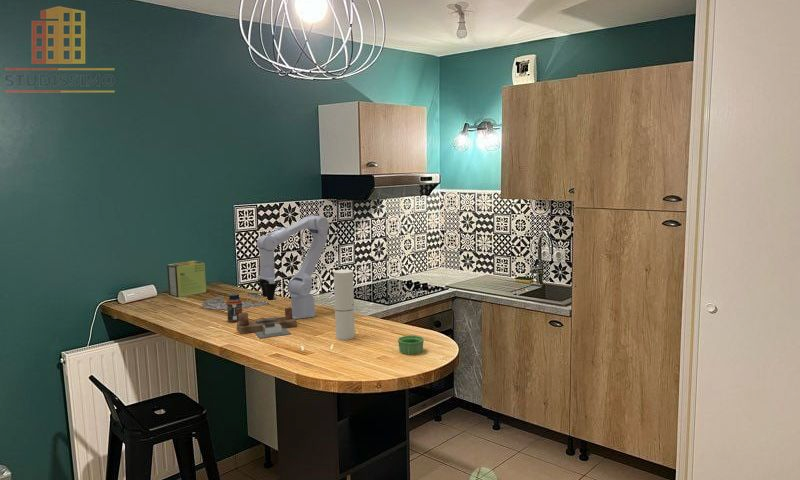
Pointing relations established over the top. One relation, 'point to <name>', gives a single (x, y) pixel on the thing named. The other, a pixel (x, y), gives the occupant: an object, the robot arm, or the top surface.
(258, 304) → the worn metal disc
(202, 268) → the protein box
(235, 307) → the supplement bottle
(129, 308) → the top surface
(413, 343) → the ramekin
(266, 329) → the light switch plate
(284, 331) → the rubber mat
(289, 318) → the body
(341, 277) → the cylindrical container
